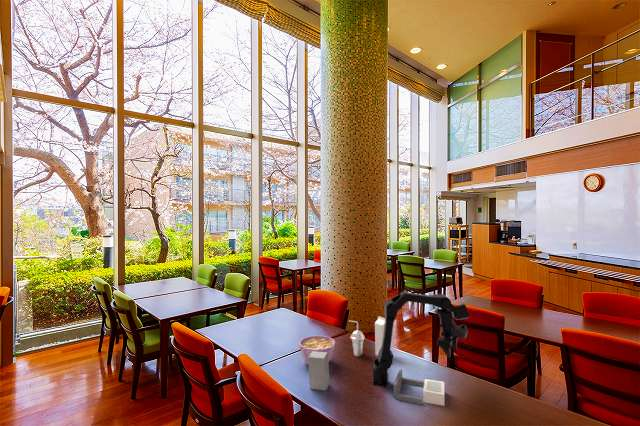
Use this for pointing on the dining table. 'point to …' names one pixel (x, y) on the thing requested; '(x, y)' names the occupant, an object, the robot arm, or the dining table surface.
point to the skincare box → (318, 370)
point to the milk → (379, 334)
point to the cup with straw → (357, 341)
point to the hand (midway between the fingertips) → (452, 353)
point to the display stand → (401, 380)
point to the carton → (433, 392)
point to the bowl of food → (316, 346)
